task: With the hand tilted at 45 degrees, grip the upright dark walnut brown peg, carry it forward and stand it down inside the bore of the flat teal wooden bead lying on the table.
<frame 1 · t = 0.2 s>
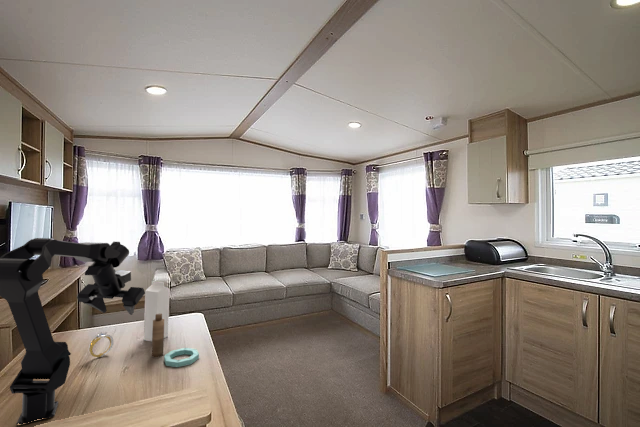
hand: (118, 312, 103), 14 cm above the table, tool tilted 30°, fingers open, 9 cm apart
ring: (100, 357, 102), on the table
bead: (181, 359, 102), on the table
milk: (156, 338, 118), on the table
brown peg: (157, 355, 104), on the table
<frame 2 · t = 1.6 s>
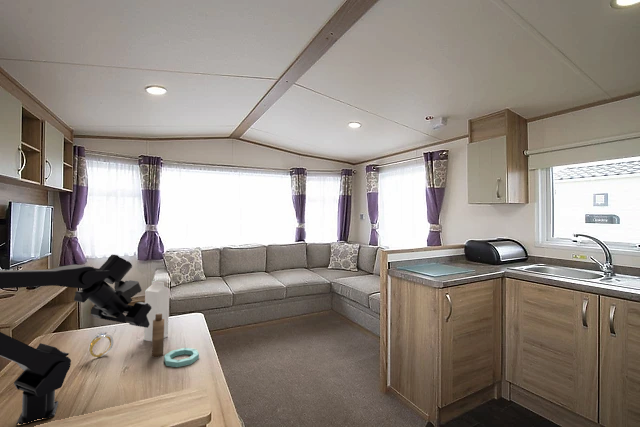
hand: (137, 323, 97), 13 cm above the table, tool tilted 45°, fingers open, 9 cm apart
nothing on the table moved.
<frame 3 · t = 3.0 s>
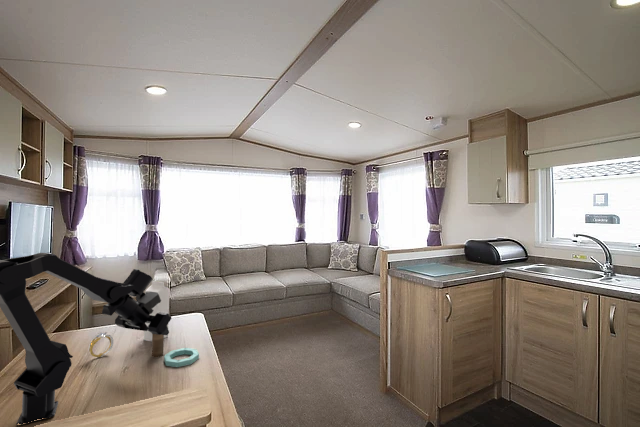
hand: (157, 331, 104), 8 cm above the table, tool tilted 45°, fingers open, 9 cm apart
nothing on the table moved.
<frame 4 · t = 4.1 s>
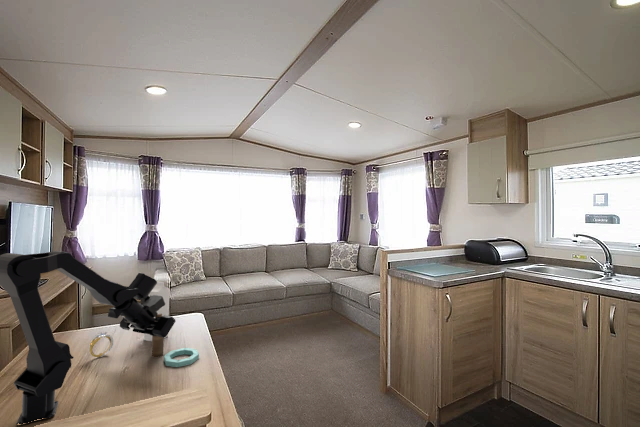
hand: (161, 334, 105), 7 cm above the table, tool tilted 45°, fingers closed on brown peg, 3 cm apart
brown peg: (157, 355, 104), on the table, touching gripper
everything else where it was.
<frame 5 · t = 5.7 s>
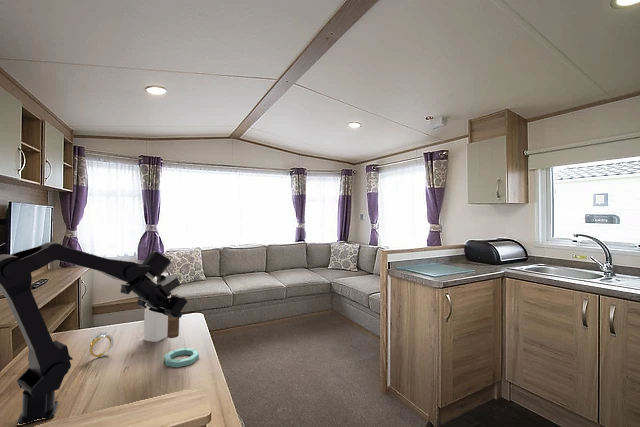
hand: (177, 315, 104), 14 cm above the table, tool tilted 45°, fingers closed on brown peg, 3 cm apart
brown peg: (173, 336, 103), point 7 cm above the table, touching gripper
everything else where it was.
when the fingers open (8 cm above the table, at t = 7.2 s): brown peg drops 2 cm, resting in bead.
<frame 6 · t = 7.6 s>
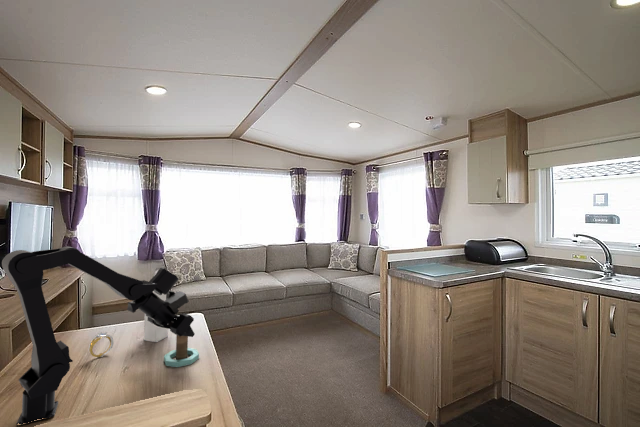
hand: (186, 332, 103), 9 cm above the table, tool tilted 45°, fingers open, 8 cm apart
brown peg: (181, 359, 102), resting in bead
everything else where it was.
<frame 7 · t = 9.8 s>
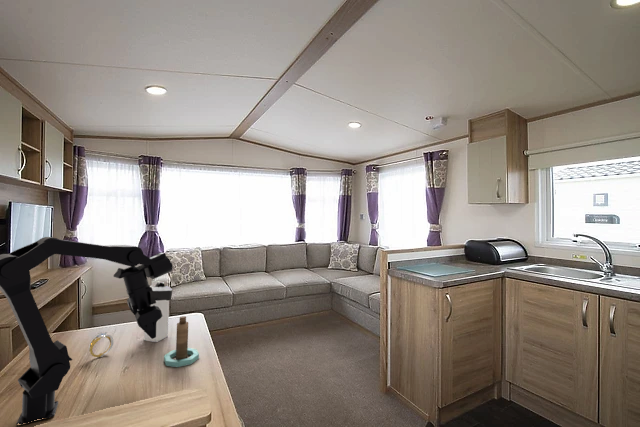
hand: (150, 331, 94), 12 cm above the table, tool tilted 15°, fingers open, 9 cm apart
nothing on the table moved.
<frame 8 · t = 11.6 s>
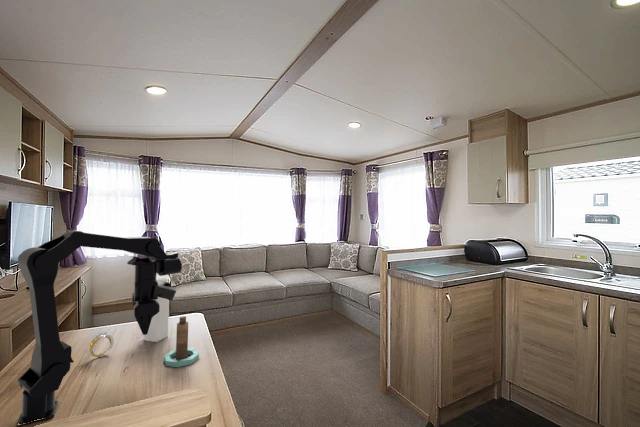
hand: (144, 329, 93), 13 cm above the table, tool pointing down, fingers open, 9 cm apart
nothing on the table moved.
at the end: brown peg 0.0 cm off-centre on the bead, point 0.0 cm above the bead's base; brown peg tilted 0°; the gripper is holding nothing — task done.
